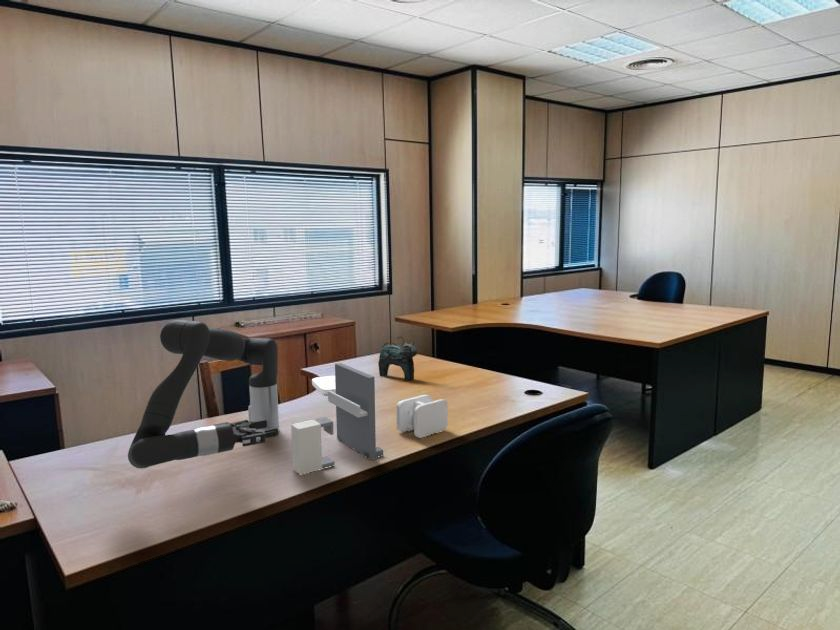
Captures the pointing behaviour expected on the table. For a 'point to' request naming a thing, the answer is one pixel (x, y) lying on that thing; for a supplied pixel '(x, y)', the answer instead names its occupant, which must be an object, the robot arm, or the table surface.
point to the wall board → (355, 409)
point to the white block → (310, 445)
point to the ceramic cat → (398, 359)
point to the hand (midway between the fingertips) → (271, 427)
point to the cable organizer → (422, 415)
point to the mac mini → (324, 384)
